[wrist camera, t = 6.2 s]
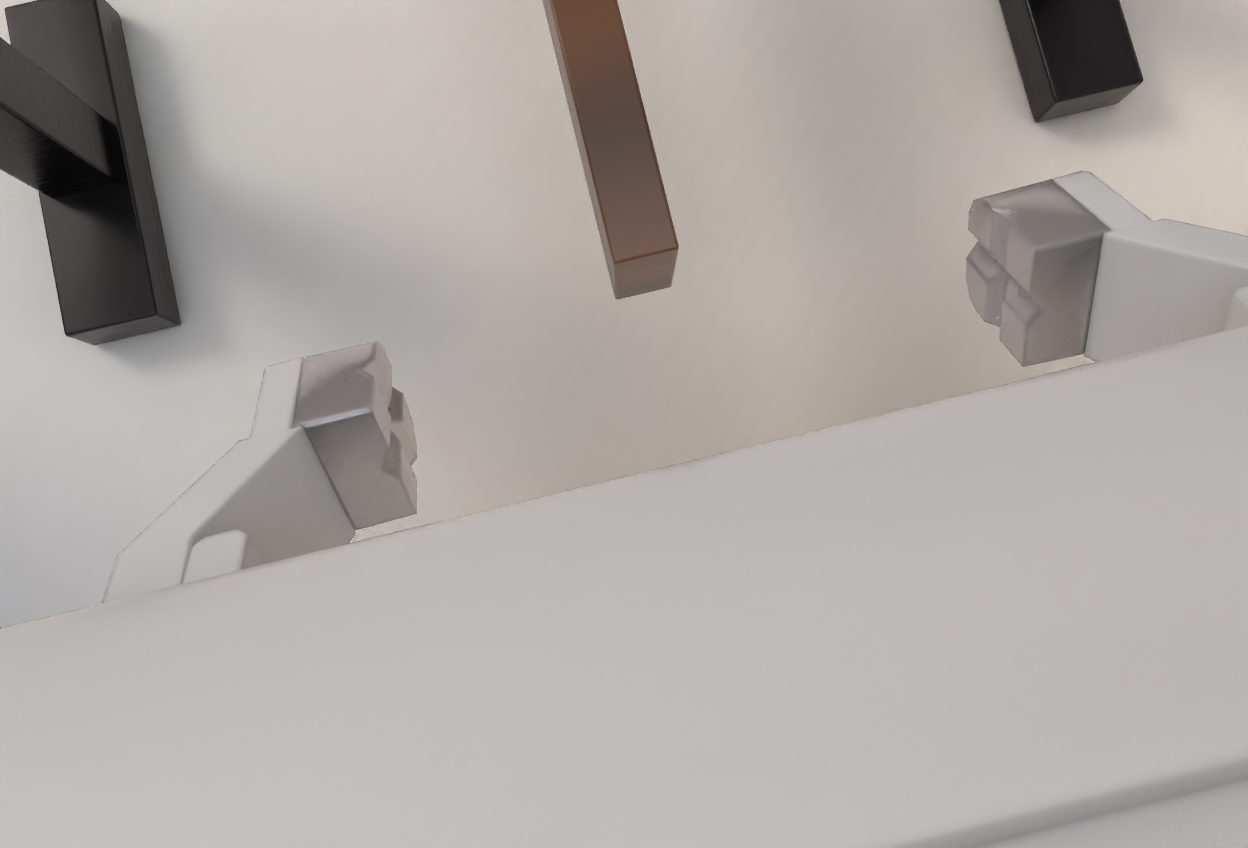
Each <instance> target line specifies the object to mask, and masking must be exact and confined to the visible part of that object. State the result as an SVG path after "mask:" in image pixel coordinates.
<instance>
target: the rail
mask: <svg viewBox="0 0 1248 848" xmlns="http://www.w3.org/2000/svg"><path fill="white" fill-rule="evenodd" d="M999 1H1000V5H1001V8H1002V12H1003V15H1004V18H1005V22H1006V25H1007V29H1008V32H1009V35H1010V39H1011V42H1012V46H1013V49H1014V52H1015V56H1016V59H1017V63H1018V66H1019V70H1020V73H1021V76H1022V80H1023V83H1024V87H1025V90H1026V93H1027V97H1028V100H1029V104H1030V107H1031V111H1032V114H1033V117H1034V120H1035V122H1041V121H1045V120H1049V119H1053V118H1057V117H1062V116H1066V115H1070V114H1074V113H1079V112H1083V111H1087V110H1091V109H1096V108H1100V107H1104V106H1108V105H1112V104H1117V103H1119V102H1120V101H1121V100H1122V99H1123V98H1125V97H1126V96H1127V95H1128V94H1129V93H1130V92H1132V91H1133V90H1134V89H1135V88H1136V87H1137V86H1138V85H1140V84H1141V83H1142V82H1143V76H1142V73H1141V70H1140V67H1139V63H1138V60H1137V57H1136V53H1135V50H1134V47H1133V44H1132V40H1131V37H1130V34H1129V31H1128V27H1127V24H1126V21H1125V17H1124V14H1123V11H1122V8H1121V4H1120V1H1119V0H999ZM5 14H6V20H7V25H8V30H9V36H10V41H11V45H9V44H8V43H7V42H6V41H4V40H3V39H2V38H0V169H1V170H3V171H4V172H6V173H8V174H10V175H11V176H13V177H15V178H17V179H19V180H20V181H22V182H24V183H26V184H27V185H29V186H31V187H33V188H35V189H36V190H38V191H39V197H40V202H41V207H42V213H43V218H44V224H45V229H46V234H47V240H48V245H49V250H50V256H51V261H52V266H53V272H54V277H55V283H56V288H57V293H58V299H59V304H60V309H61V315H62V320H63V325H64V331H65V334H66V336H68V337H71V338H74V339H77V340H80V341H83V342H86V343H89V344H92V345H98V344H102V343H106V342H110V341H115V340H119V339H123V338H127V337H131V336H136V335H140V334H144V333H148V332H153V331H157V330H161V329H165V328H170V327H174V326H178V325H180V319H179V314H178V309H177V304H176V299H175V294H174V289H173V284H172V279H171V274H170V269H169V264H168V259H167V254H166V249H165V244H164V239H163V234H162V229H161V224H160V218H159V213H158V208H157V203H156V198H155V193H154V188H153V183H152V178H151V173H150V168H149V163H148V158H147V153H146V148H145V143H144V138H143V133H142V128H141V123H140V118H139V113H138V108H137V103H136V98H135V93H134V87H133V82H132V77H131V72H130V67H129V62H128V57H127V52H126V47H125V42H124V37H123V32H122V27H121V22H120V17H119V14H118V13H117V12H116V11H115V10H114V9H113V8H112V7H111V6H110V5H109V4H108V3H107V2H106V1H105V0H37V1H33V2H28V3H24V4H20V5H15V6H11V7H7V8H5Z"/></svg>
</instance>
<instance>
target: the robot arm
mask: <svg viewBox="0 0 1248 848" xmlns="http://www.w3.org/2000/svg"><path fill="white" fill-rule="evenodd" d="M968 230H969V231H970V232H971V233H972V234H973V235H974V237H975V238H976V239H977V240H978V242H977V243H976V245H975V246H974V248H973V249H972V251H971V252H970V254H969V255H968V256H967V258H966V282H967V286H968V291H969V296H970V299H971V301H972V303H973V305H974V308H975V310H976V311H977V313H978V314H979V315H980V316H981V318H982V319H983V320H984V321H985V322H988V323H990V324H993V325H996V326H999V327H1000V339H999V340H1000V341H1001V342H1002V343H1003V344H1004V345H1005V347H1006V348H1007V349H1008V350H1009V351H1010V352H1011V354H1012V355H1013V356H1014V357H1015V358H1016V360H1017V361H1018V362H1019V363H1020V364H1021V365H1022V367H1024V366H1029V365H1034V364H1038V363H1043V362H1048V361H1052V360H1057V359H1062V358H1066V357H1071V356H1075V355H1080V354H1085V357H1088V358H1090V359H1092V360H1094V361H1096V362H1095V363H1091V364H1086V365H1082V366H1078V367H1074V368H1070V369H1066V370H1062V371H1058V372H1054V373H1049V374H1045V375H1041V376H1037V377H1033V378H1029V379H1025V380H1021V381H1016V382H1012V383H1008V384H1004V385H1000V386H996V387H992V388H988V389H984V390H979V391H975V392H971V393H967V394H963V395H959V396H955V397H951V398H947V399H942V400H938V401H934V402H930V403H926V404H922V405H918V406H914V407H909V408H905V409H901V410H897V411H893V412H889V413H885V414H881V415H877V416H872V417H868V418H864V419H860V420H856V421H852V422H848V423H844V424H839V425H835V426H831V427H827V428H823V429H819V430H815V431H811V432H807V433H802V434H798V435H794V436H790V437H786V438H782V439H778V440H774V441H769V442H765V443H761V444H757V445H753V446H749V447H745V448H741V449H737V450H732V451H728V452H724V453H720V454H716V455H712V456H708V457H704V458H699V459H695V460H691V461H687V462H683V463H679V464H675V465H671V466H666V467H662V468H658V469H654V470H650V471H646V472H642V473H638V474H634V475H629V476H625V477H621V478H617V479H613V480H609V481H605V482H601V483H596V484H592V485H588V486H584V487H580V488H576V489H572V490H568V491H563V492H559V493H555V494H551V495H547V496H543V497H539V498H535V499H531V500H526V501H522V502H518V503H514V504H510V505H506V506H502V507H498V508H493V509H489V510H485V511H481V512H477V513H473V514H469V515H465V516H460V517H456V518H452V519H448V520H444V521H440V522H436V523H432V524H428V525H423V526H419V527H415V528H411V529H407V530H403V531H399V532H395V533H391V534H386V535H382V536H378V537H374V538H370V539H366V540H362V541H358V542H353V543H350V541H351V540H352V538H353V537H354V535H355V534H356V533H355V530H358V529H362V528H366V527H369V526H373V525H377V524H380V523H384V522H388V521H392V520H395V519H399V518H403V517H406V516H410V515H414V514H417V479H416V477H415V474H414V472H413V469H412V467H411V465H412V464H413V463H414V461H415V460H416V459H417V444H416V438H415V432H414V427H413V422H412V419H411V416H410V412H409V409H408V406H407V404H406V401H405V398H404V396H403V393H401V392H399V391H398V390H396V389H395V388H393V387H392V366H391V364H390V361H389V359H388V357H387V355H386V352H385V350H384V348H383V346H382V345H381V344H380V343H379V342H378V341H377V342H372V343H367V344H363V345H358V346H354V347H349V348H345V349H340V350H335V351H331V352H326V353H322V354H317V355H313V356H308V357H306V358H303V357H301V358H297V359H293V360H290V361H286V362H282V363H278V364H274V365H270V366H269V367H267V368H266V369H265V370H264V374H263V378H262V383H261V388H260V392H259V397H258V402H257V406H256V411H255V416H254V421H253V425H252V430H251V435H250V438H249V439H245V440H241V441H238V442H237V443H236V444H235V445H234V446H233V447H232V448H231V449H230V450H229V451H228V452H227V453H226V454H225V455H224V456H223V457H221V458H220V459H219V460H218V461H217V462H216V463H215V464H214V465H213V466H212V467H211V468H210V469H209V470H208V471H207V472H206V473H204V474H203V475H202V476H201V477H200V478H199V479H198V480H197V481H196V482H195V483H194V484H193V485H192V486H191V487H190V488H189V489H187V490H186V491H185V492H184V493H183V494H182V495H181V496H180V497H179V498H178V499H177V500H176V501H175V502H174V503H173V504H171V505H170V506H169V507H168V508H167V509H166V510H165V511H164V512H163V513H162V514H161V515H160V516H159V517H158V518H157V519H156V520H154V521H153V522H152V523H151V524H150V525H149V526H148V527H147V528H146V529H145V530H144V531H143V532H142V533H141V534H140V535H139V536H137V537H136V538H135V539H134V540H133V541H132V542H131V543H130V544H129V545H128V546H127V547H126V548H125V549H124V550H123V551H122V552H120V553H119V554H118V555H117V558H116V561H115V564H114V567H113V570H112V573H111V576H110V579H109V582H108V585H107V588H106V591H105V594H104V597H103V600H102V603H101V604H98V605H94V606H89V607H85V608H81V609H77V610H73V611H69V612H65V613H61V614H56V615H52V616H48V617H44V618H40V619H36V620H32V621H28V622H23V623H19V624H15V625H11V626H7V627H3V628H0V848H1248V236H1245V235H1240V234H1235V233H1231V232H1226V231H1221V230H1216V229H1212V228H1207V227H1202V226H1197V225H1193V224H1188V223H1183V222H1178V221H1174V220H1169V219H1161V220H1156V221H1152V220H1151V219H1150V218H1149V217H1147V216H1146V215H1145V214H1143V213H1142V212H1141V211H1140V210H1138V209H1137V208H1136V207H1134V206H1133V205H1132V204H1131V203H1129V202H1128V201H1127V200H1125V199H1124V198H1123V197H1122V196H1120V195H1119V194H1118V193H1117V192H1115V191H1114V190H1113V189H1111V188H1110V187H1109V186H1108V185H1106V184H1105V183H1104V182H1102V181H1101V180H1100V179H1099V178H1097V177H1096V176H1095V175H1093V174H1092V173H1091V172H1085V171H1079V172H1075V173H1072V174H1068V175H1065V176H1061V177H1058V178H1054V179H1050V180H1047V181H1043V182H1039V183H1035V184H1032V185H1028V186H1024V187H1020V188H1017V189H1013V190H1009V191H1005V192H1002V193H998V194H994V195H990V196H986V197H983V198H979V199H976V200H973V202H972V205H971V208H970V211H969V222H968Z"/></svg>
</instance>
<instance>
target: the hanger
mask: <svg viewBox="0 0 1248 848" xmlns="http://www.w3.org/2000/svg"><path fill="white" fill-rule="evenodd" d="M543 4H544V8H545V12H546V16H547V20H548V24H549V28H550V33H551V37H552V41H553V45H554V49H555V53H556V57H557V61H558V65H559V70H560V74H561V78H562V82H563V86H564V90H565V94H566V98H567V102H568V106H569V111H570V115H571V119H572V123H573V127H574V131H575V135H576V139H577V143H578V148H579V152H580V156H581V160H582V164H583V168H584V172H585V176H586V180H587V184H588V189H589V193H590V197H591V201H592V205H593V209H594V213H595V217H596V221H597V225H598V230H599V234H600V238H601V242H602V246H603V250H604V254H605V258H606V262H607V267H608V271H609V275H610V279H611V283H612V287H613V291H614V295H615V298H616V299H622V298H626V297H630V296H634V295H639V294H643V293H647V292H651V291H655V290H660V289H664V288H668V287H670V286H671V284H672V279H673V274H674V268H675V263H676V258H677V252H678V247H679V246H678V242H677V238H676V234H675V230H674V226H673V222H672V218H671V214H670V210H669V206H668V202H667V198H666V194H665V190H664V186H663V182H662V178H661V174H660V170H659V166H658V162H657V158H656V154H655V150H654V146H653V142H652V138H651V134H650V130H649V126H648V122H647V118H646V114H645V110H644V106H643V102H642V98H641V94H640V90H639V86H638V82H637V78H636V74H635V70H634V66H633V62H632V58H631V54H630V50H629V46H628V42H627V38H626V34H625V30H624V26H623V22H622V18H621V14H620V10H619V6H618V2H617V0H543Z"/></svg>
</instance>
